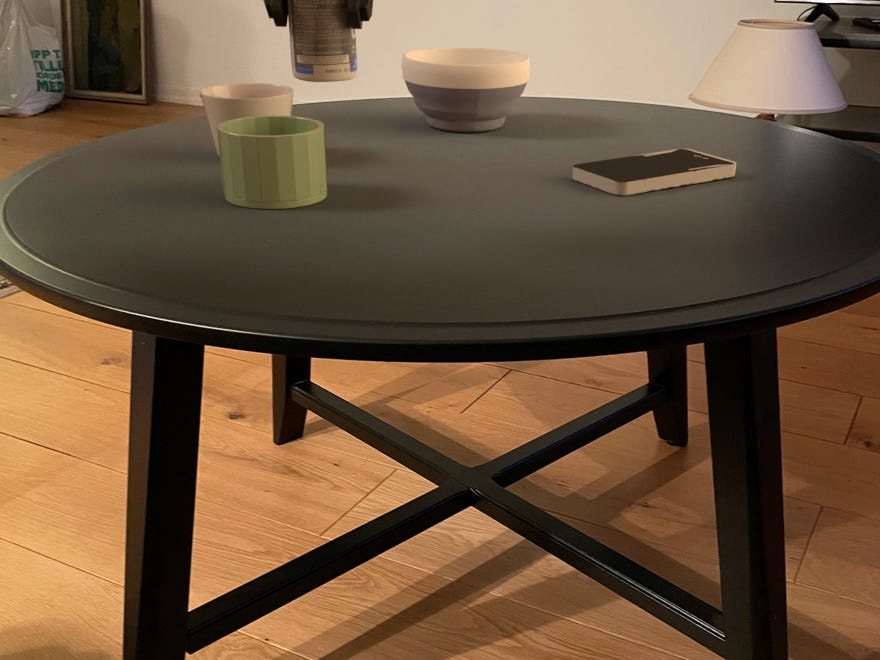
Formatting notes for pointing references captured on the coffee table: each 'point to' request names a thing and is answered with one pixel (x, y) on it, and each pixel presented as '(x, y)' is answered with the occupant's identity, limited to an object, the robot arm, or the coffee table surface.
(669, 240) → the coffee table surface
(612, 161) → the smartphone
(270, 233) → the coffee table surface
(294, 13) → the pill bottle
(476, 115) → the bowl
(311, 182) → the cup
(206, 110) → the beige tapered pot
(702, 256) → the coffee table surface
